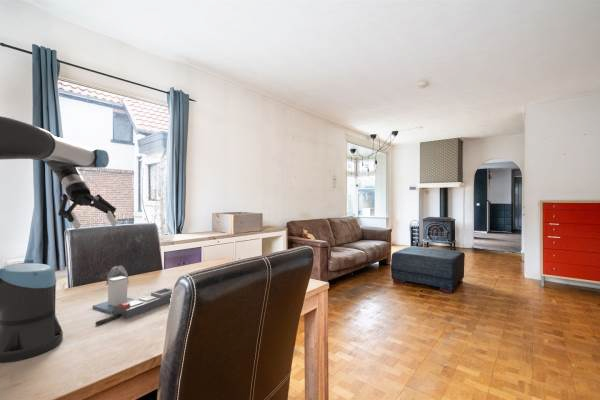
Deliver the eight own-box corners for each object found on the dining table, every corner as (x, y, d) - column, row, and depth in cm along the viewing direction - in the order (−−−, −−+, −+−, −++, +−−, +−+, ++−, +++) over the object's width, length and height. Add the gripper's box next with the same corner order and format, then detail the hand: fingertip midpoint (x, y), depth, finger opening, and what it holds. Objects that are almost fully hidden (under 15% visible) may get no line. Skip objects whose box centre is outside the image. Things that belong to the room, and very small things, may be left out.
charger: (114, 306, 111) (114, 280, 111) (108, 304, 112) (108, 279, 112) (127, 302, 115) (127, 277, 115) (120, 300, 117) (121, 275, 117)
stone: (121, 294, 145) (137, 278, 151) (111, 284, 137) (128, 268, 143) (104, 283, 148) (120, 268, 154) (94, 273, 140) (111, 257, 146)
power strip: (103, 327, 95) (103, 315, 95) (89, 323, 98) (89, 310, 98) (181, 297, 124) (181, 288, 123) (168, 295, 127) (168, 285, 127)
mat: (111, 314, 106) (111, 311, 106) (92, 308, 111) (92, 305, 111) (142, 303, 117) (142, 301, 117) (123, 298, 122) (123, 296, 122)
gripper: (103, 194, 132) (124, 229, 125) (35, 193, 109) (55, 235, 103) (111, 183, 129) (132, 217, 123) (42, 179, 107) (63, 221, 100)
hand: (97, 226), depth 113 cm, fingers open, 13 cm apart
